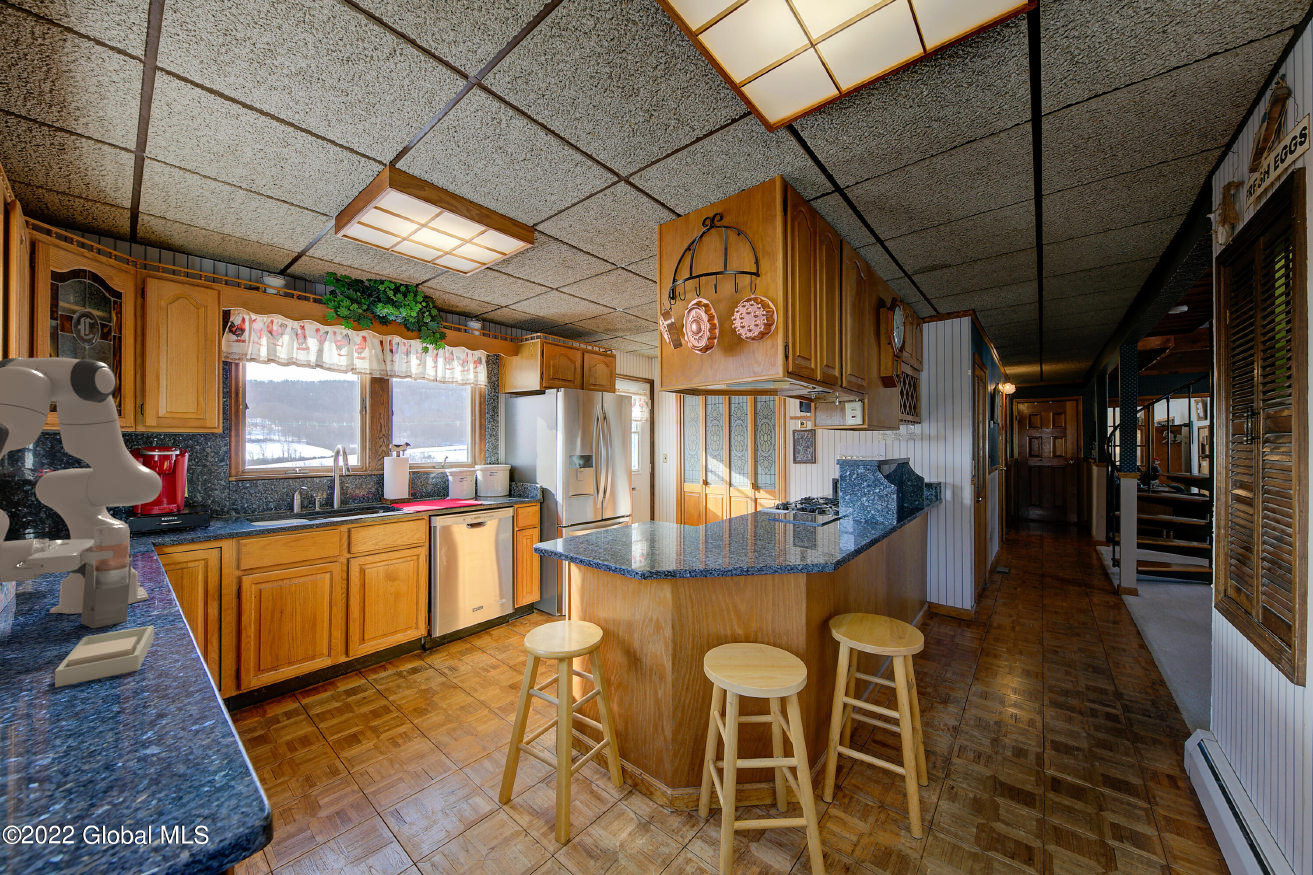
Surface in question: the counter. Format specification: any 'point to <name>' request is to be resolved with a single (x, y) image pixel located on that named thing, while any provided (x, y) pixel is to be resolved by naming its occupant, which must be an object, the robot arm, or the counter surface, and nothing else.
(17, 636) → the counter surface
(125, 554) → the steel can
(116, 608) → the skincare box
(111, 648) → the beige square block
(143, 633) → the tote
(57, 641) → the counter surface
